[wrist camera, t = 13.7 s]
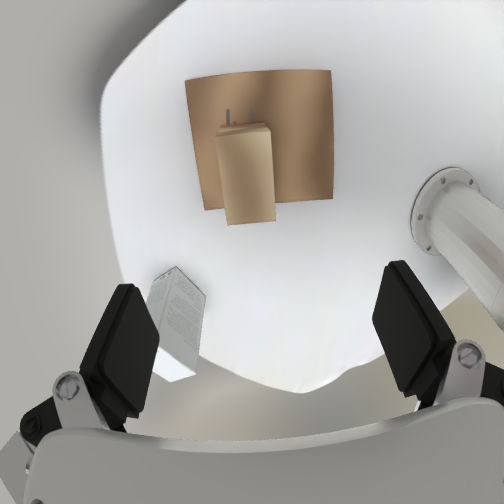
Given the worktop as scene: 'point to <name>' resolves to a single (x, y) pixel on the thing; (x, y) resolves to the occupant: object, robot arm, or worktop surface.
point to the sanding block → (246, 172)
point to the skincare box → (176, 324)
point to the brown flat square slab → (278, 122)
